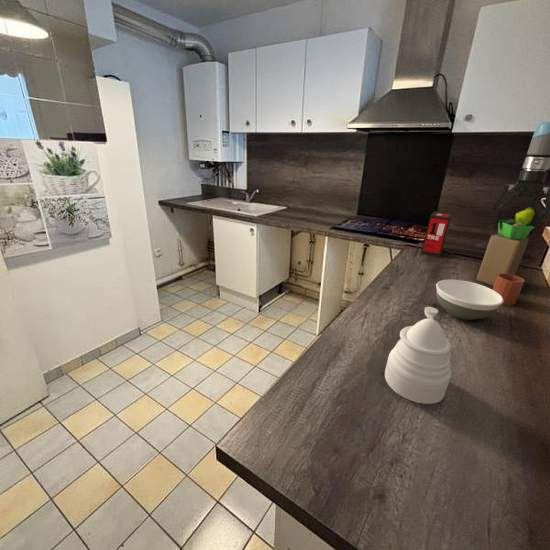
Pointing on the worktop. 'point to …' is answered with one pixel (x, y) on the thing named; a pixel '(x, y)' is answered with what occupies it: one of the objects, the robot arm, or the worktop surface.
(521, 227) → the fruit basket
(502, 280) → the terracotta plant pot
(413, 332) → the honey pot
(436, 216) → the cleaning product box
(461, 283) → the bowl
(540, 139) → the robot arm
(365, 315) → the worktop surface
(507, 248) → the wooden block
